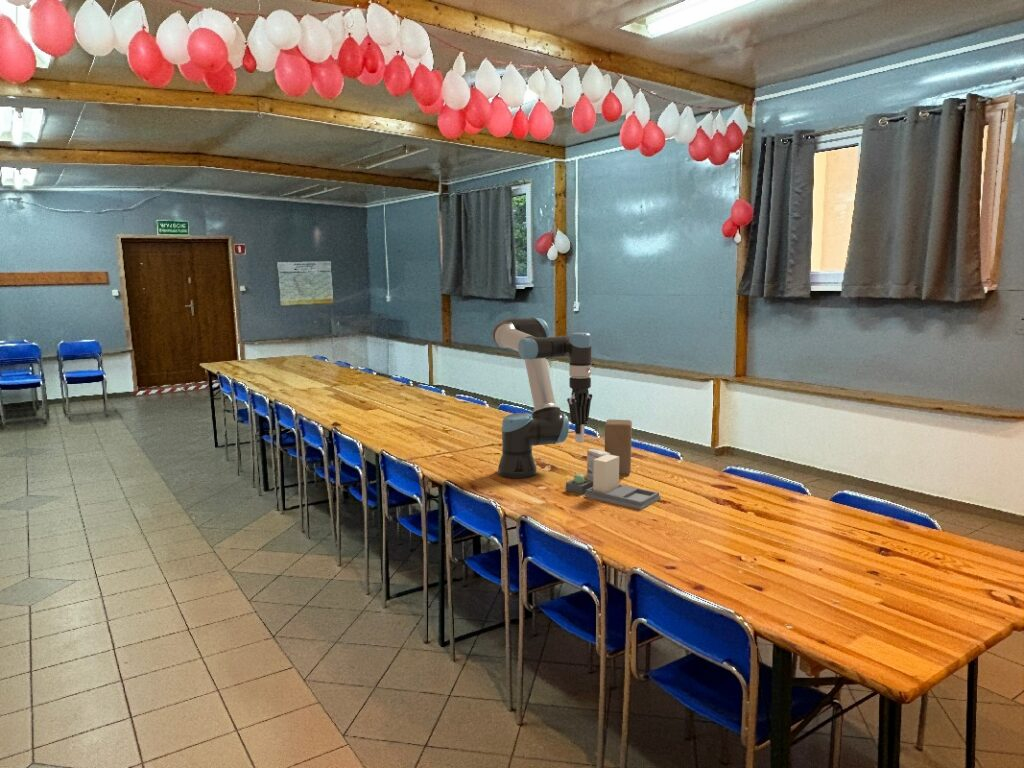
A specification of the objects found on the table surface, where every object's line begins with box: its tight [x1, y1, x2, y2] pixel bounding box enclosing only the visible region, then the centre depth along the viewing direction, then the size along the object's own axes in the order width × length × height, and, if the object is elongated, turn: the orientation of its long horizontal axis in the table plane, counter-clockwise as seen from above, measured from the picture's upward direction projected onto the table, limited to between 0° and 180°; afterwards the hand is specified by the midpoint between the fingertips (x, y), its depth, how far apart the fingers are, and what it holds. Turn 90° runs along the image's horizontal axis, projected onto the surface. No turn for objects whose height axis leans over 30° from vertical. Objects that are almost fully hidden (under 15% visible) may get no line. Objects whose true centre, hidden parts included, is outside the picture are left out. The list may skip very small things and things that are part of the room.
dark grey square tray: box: [565, 479, 593, 495], centre depth 243 cm, size 7×7×3 cm
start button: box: [573, 473, 585, 485], centre depth 243 cm, size 4×4×4 cm
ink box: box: [586, 448, 610, 482], centre depth 252 cm, size 8×5×12 cm, turn 30°
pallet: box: [584, 483, 661, 511], centre depth 234 cm, size 22×14×2 cm, turn 51°
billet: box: [593, 454, 620, 493], centre depth 237 cm, size 5×9×12 cm, turn 141°
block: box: [604, 418, 633, 476], centre depth 264 cm, size 10×10×20 cm
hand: (579, 442), depth 240 cm, fingers closed
